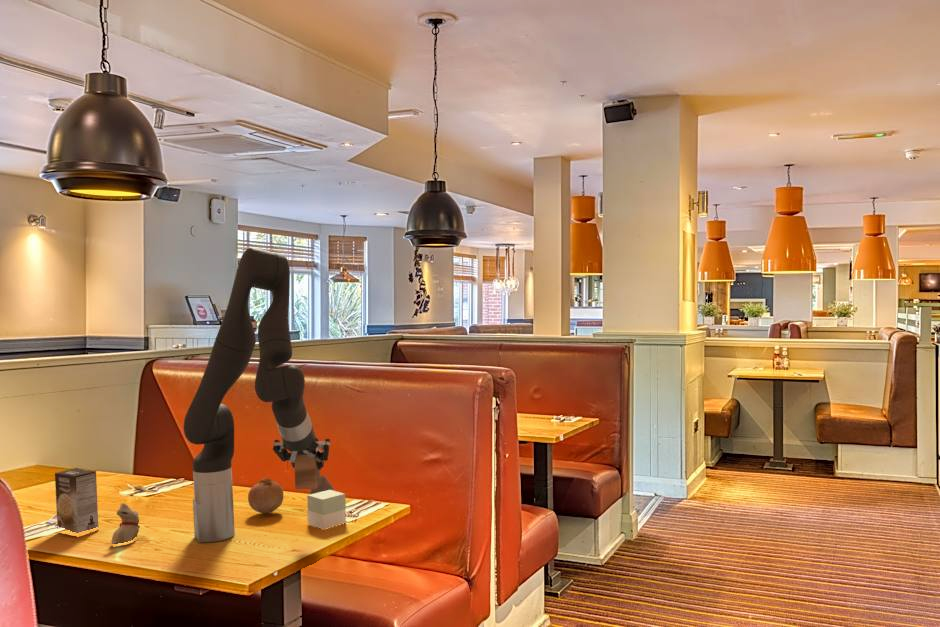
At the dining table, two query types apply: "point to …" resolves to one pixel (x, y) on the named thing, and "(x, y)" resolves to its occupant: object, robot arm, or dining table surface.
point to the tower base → (326, 519)
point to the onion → (265, 496)
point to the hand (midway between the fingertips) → (309, 466)
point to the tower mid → (326, 502)
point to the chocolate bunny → (126, 525)
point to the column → (306, 472)
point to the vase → (322, 486)
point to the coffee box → (76, 499)
